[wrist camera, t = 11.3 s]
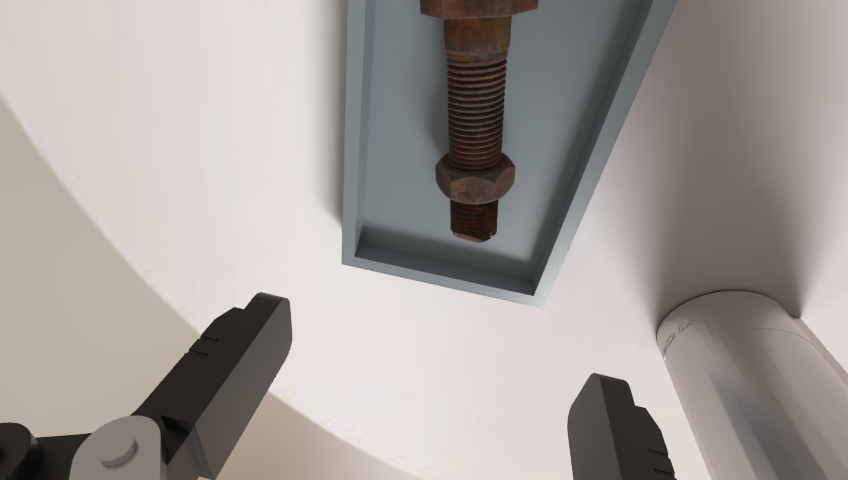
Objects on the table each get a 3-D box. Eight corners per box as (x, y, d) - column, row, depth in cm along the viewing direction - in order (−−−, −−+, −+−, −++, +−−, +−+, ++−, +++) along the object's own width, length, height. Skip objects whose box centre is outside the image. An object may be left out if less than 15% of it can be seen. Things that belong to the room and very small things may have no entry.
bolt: (467, 204, 31) (468, -29, 22) (526, 225, 28) (555, -32, 19) (419, 240, 27) (398, -20, 19) (481, 268, 25) (491, -22, 16)
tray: (692, -89, 19) (719, -97, 17) (540, 283, 33) (542, 308, 30) (369, -139, 20) (350, -154, 18) (353, 242, 34) (341, 264, 31)
